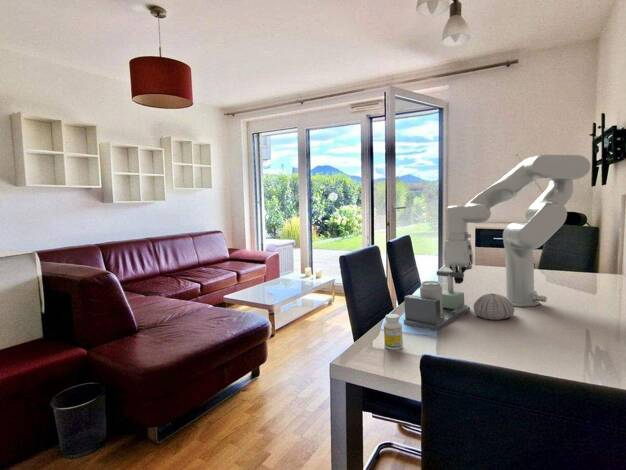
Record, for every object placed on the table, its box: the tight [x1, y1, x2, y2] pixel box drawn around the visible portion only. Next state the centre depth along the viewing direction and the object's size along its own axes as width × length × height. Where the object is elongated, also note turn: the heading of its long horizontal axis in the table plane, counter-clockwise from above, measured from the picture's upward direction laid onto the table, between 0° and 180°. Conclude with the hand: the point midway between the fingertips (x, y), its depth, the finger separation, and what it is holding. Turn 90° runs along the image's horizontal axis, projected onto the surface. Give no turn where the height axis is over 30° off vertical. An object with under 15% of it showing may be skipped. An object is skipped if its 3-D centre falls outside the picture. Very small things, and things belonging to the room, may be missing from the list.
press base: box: [403, 294, 471, 331], centre depth 134 cm, size 12×26×10 cm, turn 133°
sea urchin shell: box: [472, 293, 516, 321], centre depth 131 cm, size 13×14×8 cm
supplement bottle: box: [383, 313, 404, 351], centre depth 110 cm, size 5×5×10 cm
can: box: [419, 280, 443, 315], centre depth 131 cm, size 8×8×12 cm
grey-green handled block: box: [436, 269, 465, 309], centre depth 140 cm, size 10×6×13 cm, turn 43°
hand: (458, 282), depth 145 cm, fingers closed
